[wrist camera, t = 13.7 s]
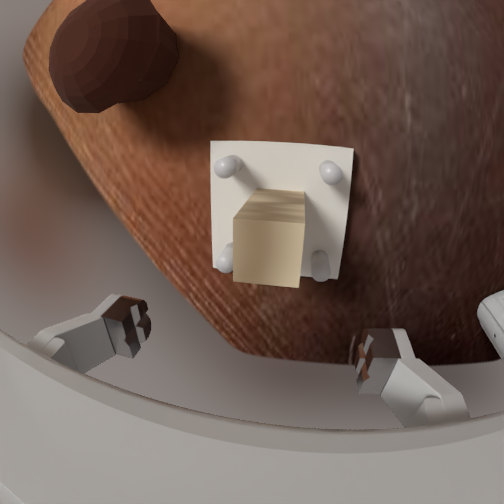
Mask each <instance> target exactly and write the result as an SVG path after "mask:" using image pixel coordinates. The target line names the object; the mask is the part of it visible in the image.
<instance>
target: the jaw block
mask: <svg viewBox="0 0 504 504" xmlns="http://www.w3.org/2000/svg"><path fill="white" fill-rule="evenodd" d="M304 231H305V204H304V192H303V191H290V190H277V189H261V188H257V189H256V190H255V191H254V192H253V194H252V195H251V196H250V197H249V199H248V200H247V201H246V202H245V204H244V205H243V206H242V207H241V209H240V210H239V211H238V213H237V214H236V215H235V216H234V218H233V281H235V282H245V283H254V284H264V285H274V286H285V287H296V288H299V280H300V271H301V262H302V252H303V242H304Z"/></svg>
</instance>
